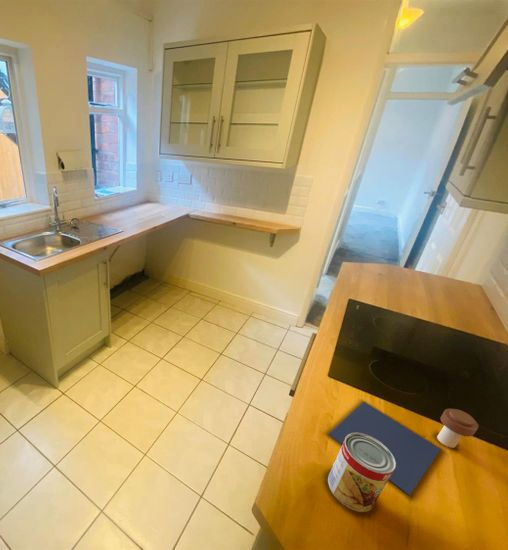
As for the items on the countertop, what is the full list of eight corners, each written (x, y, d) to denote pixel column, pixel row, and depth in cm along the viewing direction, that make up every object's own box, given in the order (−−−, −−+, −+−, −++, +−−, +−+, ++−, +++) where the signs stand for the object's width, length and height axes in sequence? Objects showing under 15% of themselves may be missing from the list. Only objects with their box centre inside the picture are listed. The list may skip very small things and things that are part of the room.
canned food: (380, 518, 57) (404, 478, 52) (333, 504, 59) (352, 465, 53) (364, 476, 64) (385, 438, 58) (323, 466, 65) (339, 428, 60)
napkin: (363, 402, 81) (364, 401, 81) (440, 450, 69) (440, 449, 69) (328, 434, 72) (328, 433, 72) (409, 495, 60) (409, 495, 60)
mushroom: (435, 426, 75) (450, 402, 71) (465, 444, 71) (483, 419, 67) (426, 438, 72) (442, 413, 68) (458, 457, 68) (476, 431, 64)
